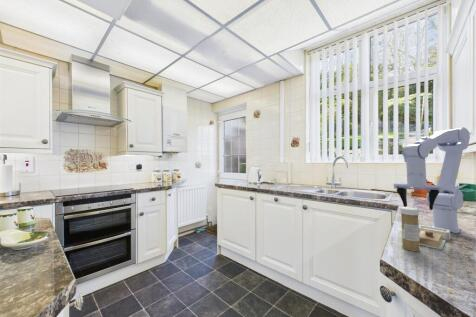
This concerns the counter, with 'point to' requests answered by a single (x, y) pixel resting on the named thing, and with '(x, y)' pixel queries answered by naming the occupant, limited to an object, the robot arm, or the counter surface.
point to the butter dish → (436, 231)
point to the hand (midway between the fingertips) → (417, 207)
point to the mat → (434, 246)
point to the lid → (430, 238)
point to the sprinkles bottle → (410, 228)
